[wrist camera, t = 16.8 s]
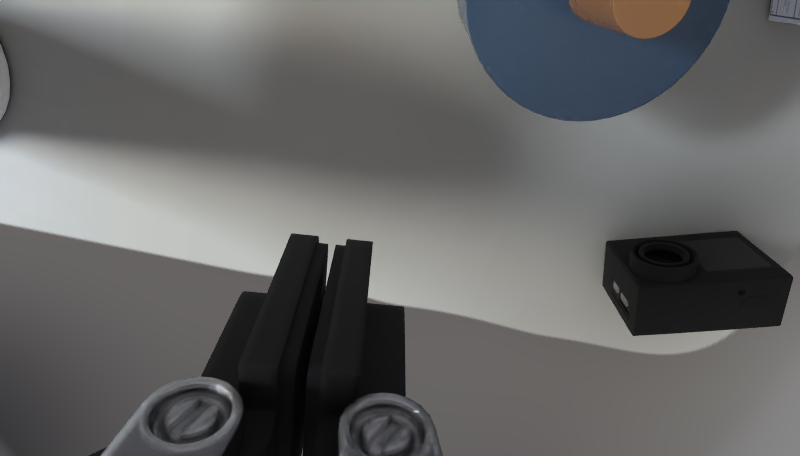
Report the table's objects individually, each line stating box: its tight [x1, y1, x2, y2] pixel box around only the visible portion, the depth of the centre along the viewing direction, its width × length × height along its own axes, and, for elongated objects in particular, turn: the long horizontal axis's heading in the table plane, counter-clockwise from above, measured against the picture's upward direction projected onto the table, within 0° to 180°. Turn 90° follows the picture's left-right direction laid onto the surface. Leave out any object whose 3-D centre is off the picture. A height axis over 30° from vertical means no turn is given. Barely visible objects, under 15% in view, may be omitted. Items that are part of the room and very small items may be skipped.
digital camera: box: [603, 231, 793, 336], centre depth 40 cm, size 10×5×7 cm, turn 96°
